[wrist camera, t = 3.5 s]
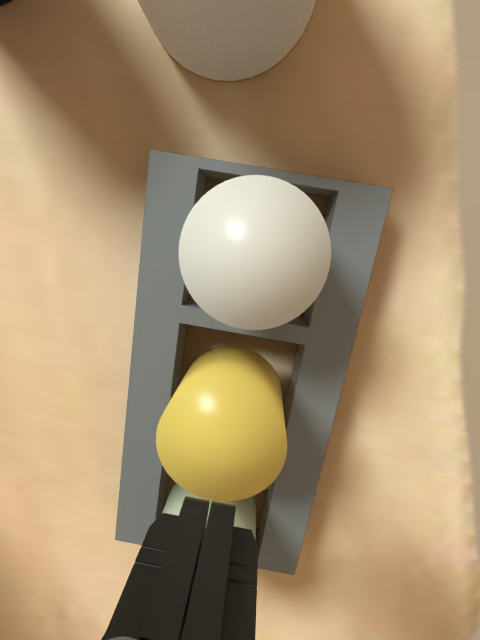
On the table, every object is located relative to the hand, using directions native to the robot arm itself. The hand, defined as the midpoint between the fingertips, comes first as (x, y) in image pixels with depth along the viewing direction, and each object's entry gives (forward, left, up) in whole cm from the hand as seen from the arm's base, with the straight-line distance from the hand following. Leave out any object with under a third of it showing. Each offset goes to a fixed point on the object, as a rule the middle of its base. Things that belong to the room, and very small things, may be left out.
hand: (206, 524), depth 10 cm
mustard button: (0, 0, -10) cm, 10 cm away
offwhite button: (+6, +4, -9) cm, 12 cm away
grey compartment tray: (0, 0, -12) cm, 12 cm away
